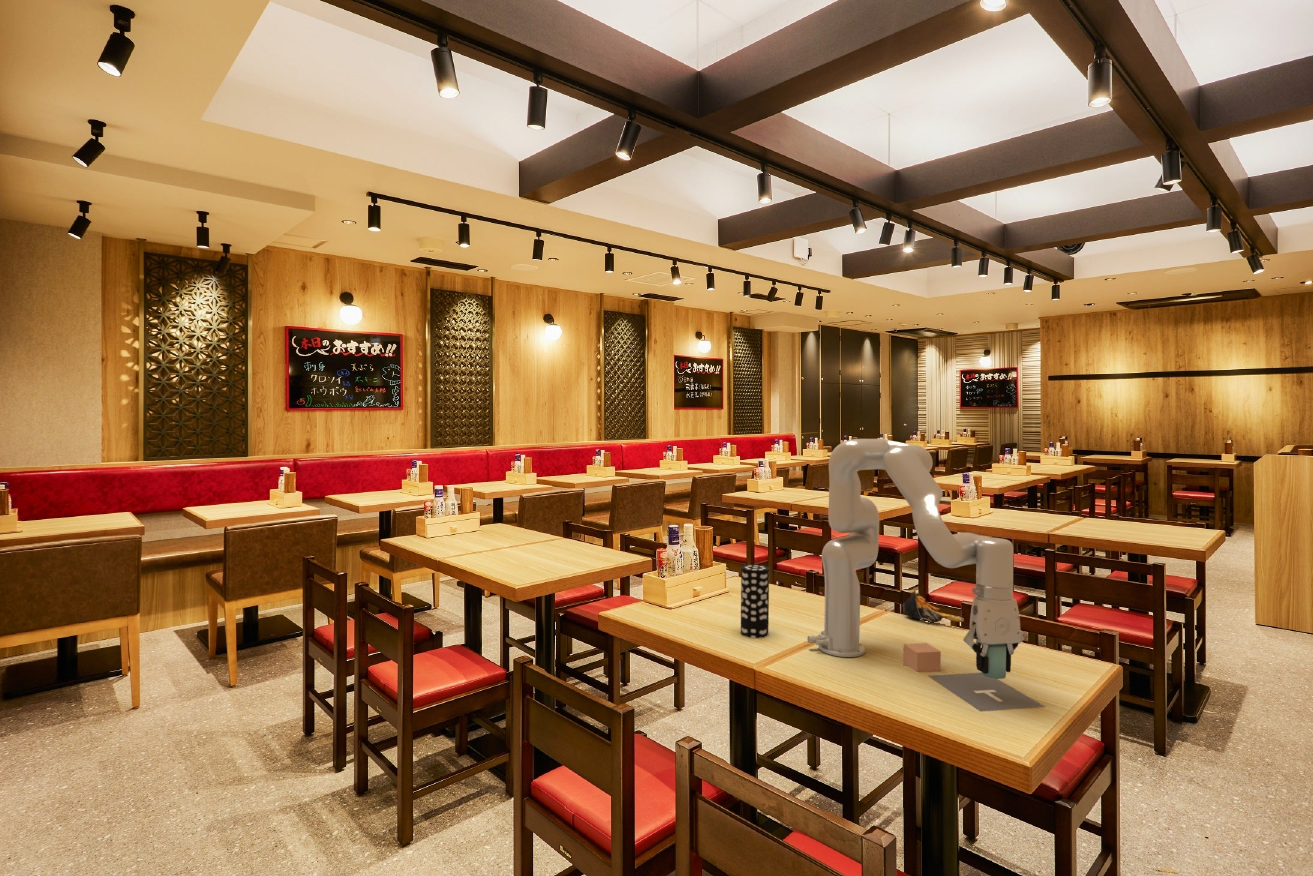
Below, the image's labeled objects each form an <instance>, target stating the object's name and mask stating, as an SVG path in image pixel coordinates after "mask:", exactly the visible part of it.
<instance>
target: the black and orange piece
mask: <svg viewBox="0 0 1313 876" xmlns="http://www.w3.org/2000/svg"><path fill="white" fill-rule="evenodd" d="M902 609H903V614H904V615H905V616H907V617H910V618H912V619H914V620H921V621H923V622H924V621H928V622H932V623H938V622H941V621H942V620H943V619H946V620H948V621H954V622H955V623H957V622H958V623H959V622H961V623H962V622H964V621H965V618H963V617H962V616H959V615H958V616H957V615H953V614H949V613H948V614H947V613H944V612H939V611H940V610H941V608H938V607H935V606H934V605H932V604H930V603H928V602H926V599H925V598H924V597H923V596H922V595H921V594H920V593H919V592H916V593H915V594H914V595H911V596H909V597H908V598H907V600H905V602H903V604H902ZM938 610H939V611H938Z"/></svg>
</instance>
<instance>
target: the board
mask: <svg viewBox="0 0 1313 876" xmlns="http://www.w3.org/2000/svg"><path fill="white" fill-rule="evenodd" d="M928 677H929V678H930V679H931V680H933V681H935V682H936V683H937V684H939V685H941V686H942V687H944V688H945V689H946V690H948V691H949V692H951V693H952V694H954V695H956V696H957V697H958V698H959V699H961V700H963V701H964V702H965V703H967V704H969V705H971V706H972V707H973V708H975V709H976V710H977V711H979V712H991V711H992V712H993V711H1006V710H1022V709H1023V710H1024V709H1035V708H1037V709H1038V708H1046V705H1043V704H1042V703H1040V702H1038V701H1037V700H1035V699H1033V698H1031V697H1030V696H1027V695H1026V694H1025V693H1023V692H1020V690H1017V689H1016V688H1014V687H1012V686H1011V685H1009V684H1007V683H1005V682H1004V681H1002V680H1001V679H994V678H989V677H986V676H984V675H983V674H982V673H981V672H971V673H969V672H968V673H955V674H953V673H952V674H937V675H935V674H934V675H928Z"/></svg>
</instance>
